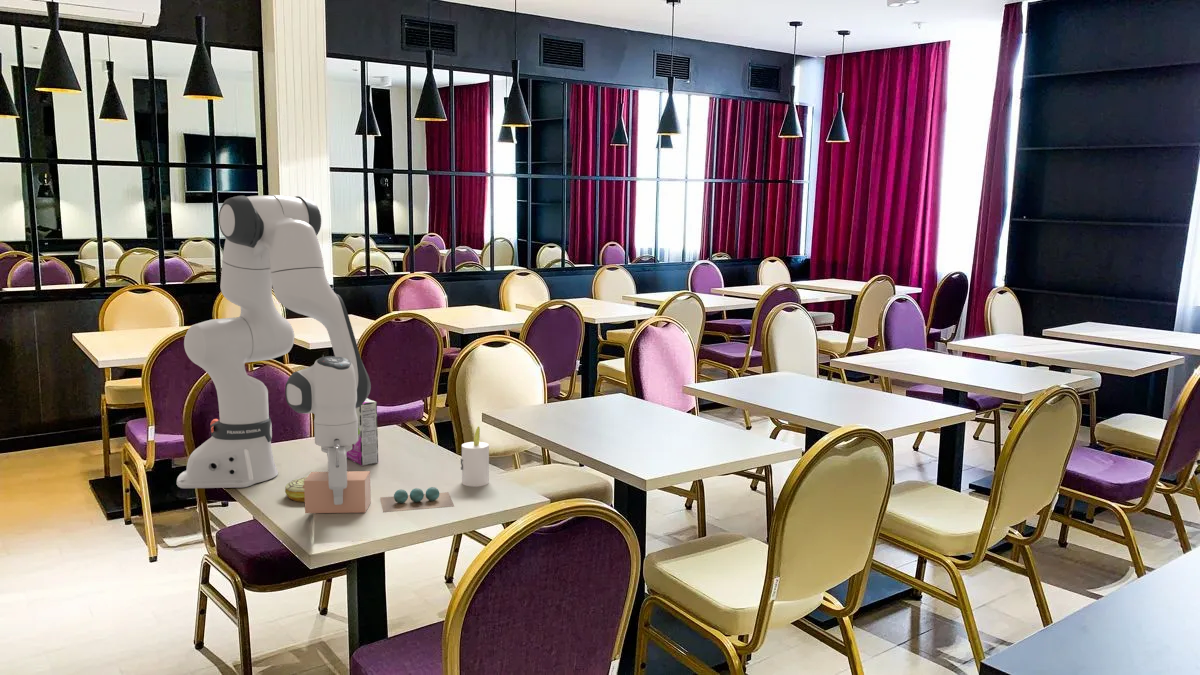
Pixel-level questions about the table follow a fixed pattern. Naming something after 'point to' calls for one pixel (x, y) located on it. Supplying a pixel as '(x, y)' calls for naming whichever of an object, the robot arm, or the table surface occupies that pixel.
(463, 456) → the candle
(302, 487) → the decorated donut
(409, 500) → the marble board
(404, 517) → the table surface
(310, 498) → the peach brick
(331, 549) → the table surface
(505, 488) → the table surface
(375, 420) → the candy bar box
